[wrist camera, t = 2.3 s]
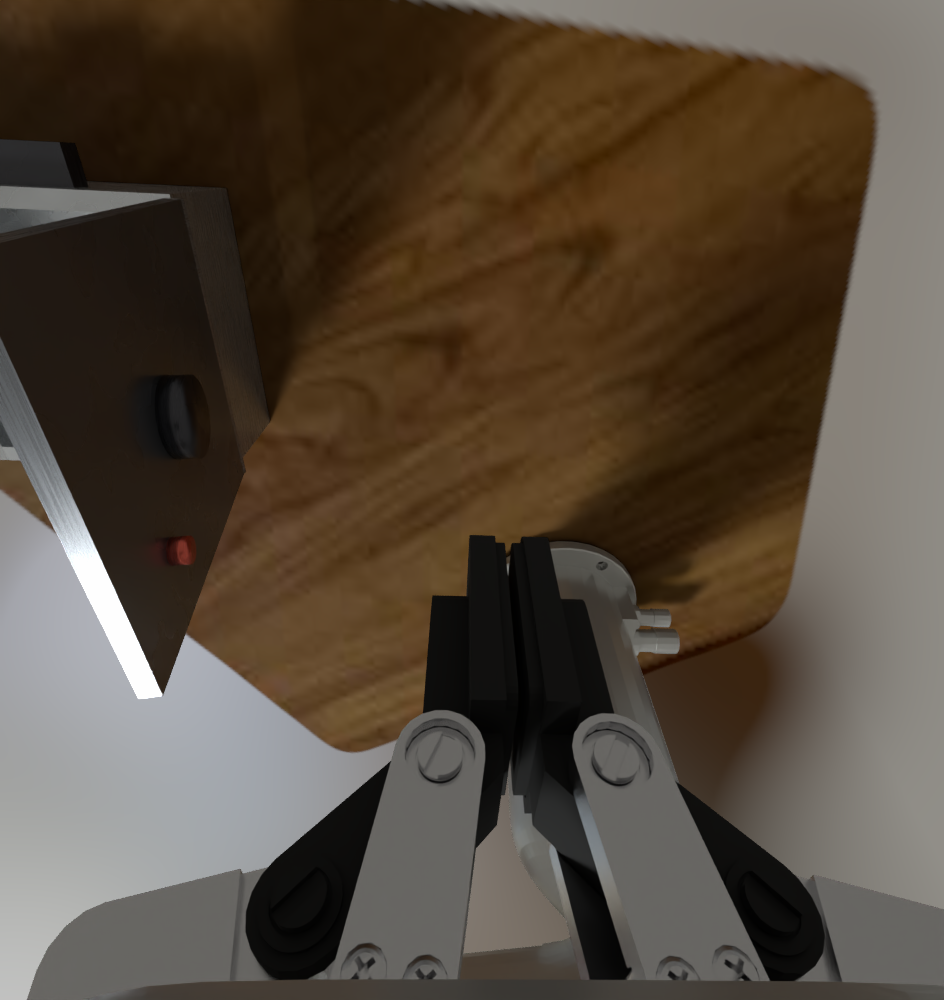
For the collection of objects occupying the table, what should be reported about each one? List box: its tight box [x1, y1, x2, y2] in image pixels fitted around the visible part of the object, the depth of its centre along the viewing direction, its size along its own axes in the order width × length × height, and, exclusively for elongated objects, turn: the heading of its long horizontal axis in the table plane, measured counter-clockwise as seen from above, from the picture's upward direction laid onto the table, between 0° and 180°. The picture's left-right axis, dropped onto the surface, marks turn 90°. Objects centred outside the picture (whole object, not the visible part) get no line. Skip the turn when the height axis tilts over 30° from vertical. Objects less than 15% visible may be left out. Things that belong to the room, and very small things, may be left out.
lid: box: [0, 198, 246, 699], centre depth 19 cm, size 15×13×2 cm
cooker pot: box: [0, 139, 270, 460], centre depth 27 cm, size 13×16×6 cm
